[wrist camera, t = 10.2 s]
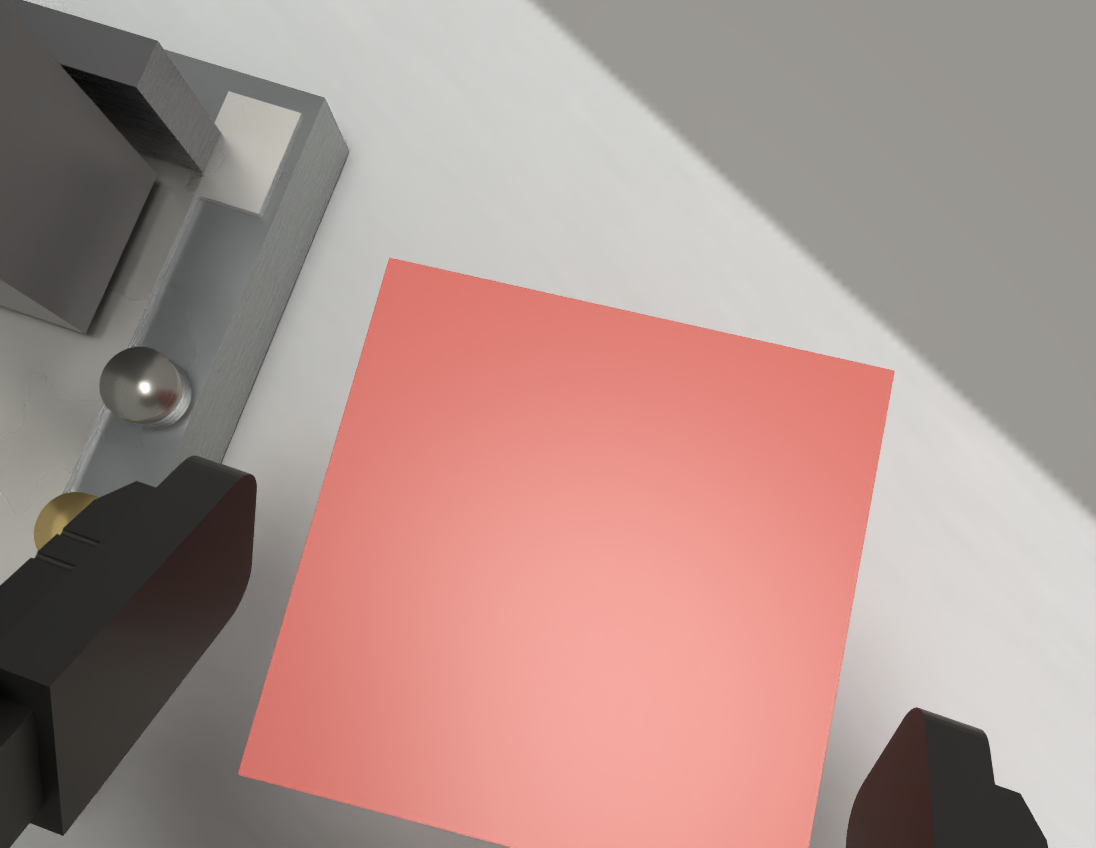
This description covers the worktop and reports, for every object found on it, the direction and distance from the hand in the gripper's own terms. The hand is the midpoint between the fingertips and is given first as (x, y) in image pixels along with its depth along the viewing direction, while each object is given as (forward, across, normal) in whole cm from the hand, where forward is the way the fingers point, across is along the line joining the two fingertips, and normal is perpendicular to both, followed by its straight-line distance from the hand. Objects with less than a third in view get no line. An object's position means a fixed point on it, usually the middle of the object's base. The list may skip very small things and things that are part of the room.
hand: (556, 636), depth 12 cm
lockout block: (+5, 0, +4) cm, 6 cm away
